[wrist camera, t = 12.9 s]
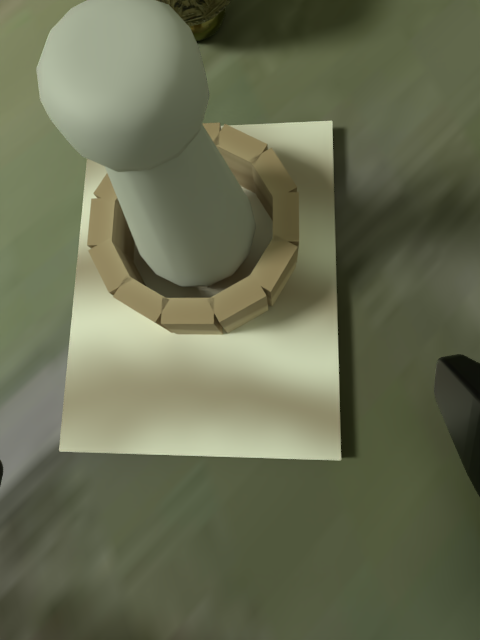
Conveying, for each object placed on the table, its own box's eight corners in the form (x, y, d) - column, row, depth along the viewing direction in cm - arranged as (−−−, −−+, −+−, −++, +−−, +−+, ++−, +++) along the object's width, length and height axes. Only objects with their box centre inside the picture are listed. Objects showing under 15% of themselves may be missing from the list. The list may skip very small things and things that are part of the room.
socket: (338, 458, 21) (351, 470, 17) (66, 449, 22) (23, 459, 18) (330, 129, 24) (339, 80, 20) (95, 140, 25) (63, 95, 22)
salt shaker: (210, 320, 22) (110, 206, 9) (130, 256, 23) (-59, 75, 10) (280, 235, 22) (278, 14, 10) (198, 177, 23) (100, -91, 11)
